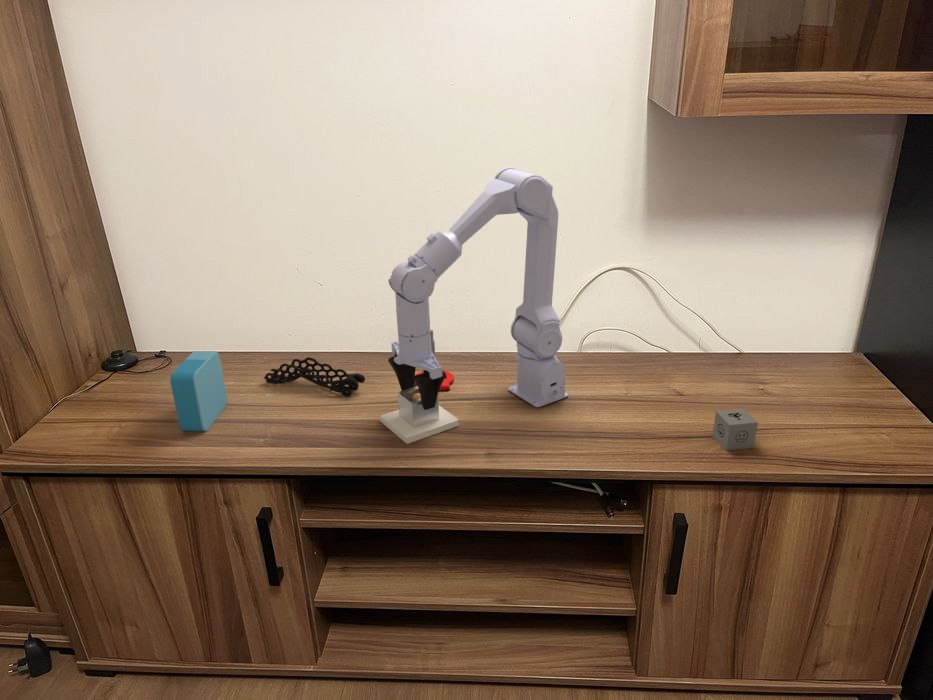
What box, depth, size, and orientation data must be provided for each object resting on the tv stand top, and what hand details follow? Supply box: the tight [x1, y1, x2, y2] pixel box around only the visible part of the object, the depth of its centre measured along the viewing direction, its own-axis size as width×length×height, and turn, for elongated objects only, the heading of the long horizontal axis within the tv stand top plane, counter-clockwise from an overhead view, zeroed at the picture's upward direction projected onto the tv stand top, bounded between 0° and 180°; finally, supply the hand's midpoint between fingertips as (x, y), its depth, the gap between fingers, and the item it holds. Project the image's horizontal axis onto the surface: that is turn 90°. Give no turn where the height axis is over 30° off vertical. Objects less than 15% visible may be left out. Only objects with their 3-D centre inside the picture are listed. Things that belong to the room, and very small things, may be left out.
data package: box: [169, 350, 228, 432], centre depth 135 cm, size 12×4×12 cm, turn 177°
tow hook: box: [415, 329, 455, 391], centre depth 147 cm, size 8×13×9 cm
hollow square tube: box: [397, 385, 440, 428], centre depth 132 cm, size 5×5×5 cm
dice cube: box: [712, 408, 759, 451], centre depth 124 cm, size 5×5×5 cm
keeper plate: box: [379, 393, 460, 445], centre depth 132 cm, size 10×11×6 cm
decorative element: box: [263, 357, 366, 398], centre depth 147 cm, size 22×5×6 cm, turn 71°
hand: (418, 400), depth 131 cm, fingers open, 7 cm apart
